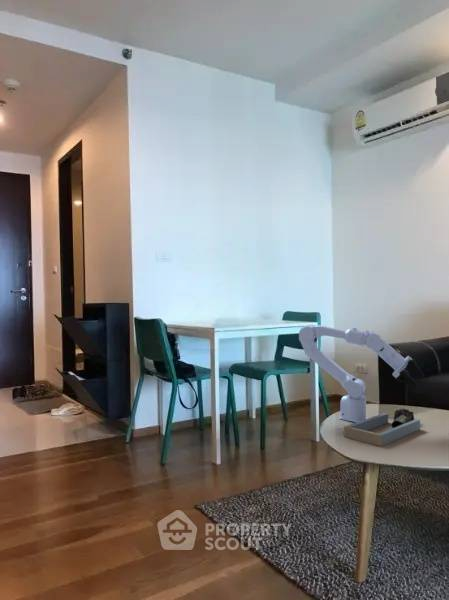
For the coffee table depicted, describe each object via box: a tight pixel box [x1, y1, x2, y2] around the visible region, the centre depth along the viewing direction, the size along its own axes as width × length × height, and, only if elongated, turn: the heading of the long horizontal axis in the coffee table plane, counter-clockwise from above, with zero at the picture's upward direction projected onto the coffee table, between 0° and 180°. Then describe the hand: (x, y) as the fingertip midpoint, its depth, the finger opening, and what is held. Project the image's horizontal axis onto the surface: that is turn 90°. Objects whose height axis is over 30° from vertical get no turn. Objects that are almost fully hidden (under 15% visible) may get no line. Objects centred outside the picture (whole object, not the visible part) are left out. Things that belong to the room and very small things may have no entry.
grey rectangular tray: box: [343, 412, 421, 447], centre depth 169 cm, size 14×28×4 cm, turn 133°
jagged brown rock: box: [390, 408, 415, 429], centre depth 178 cm, size 18×7×6 cm, turn 146°
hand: (419, 382), depth 177 cm, fingers open, 7 cm apart
